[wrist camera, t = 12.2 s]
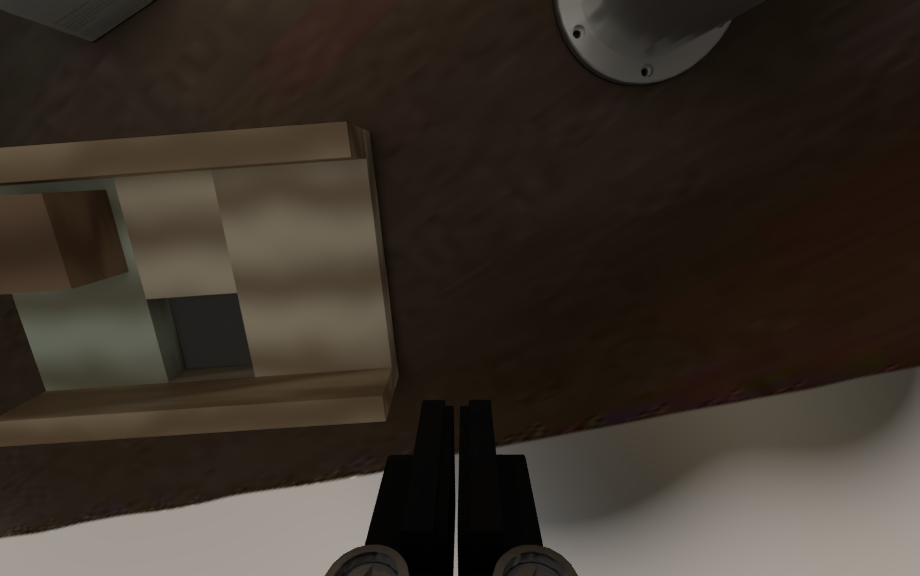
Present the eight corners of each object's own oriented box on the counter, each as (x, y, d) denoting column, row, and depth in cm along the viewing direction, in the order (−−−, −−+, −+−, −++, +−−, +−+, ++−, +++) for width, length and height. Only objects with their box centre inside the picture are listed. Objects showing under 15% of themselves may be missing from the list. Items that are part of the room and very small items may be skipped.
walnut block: (23, 195, 31) (-57, 200, 26) (106, 189, 31) (41, 193, 26) (50, 277, 33) (-21, 295, 28) (128, 271, 33) (71, 289, 28)
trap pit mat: (168, 291, 36) (167, 292, 35) (251, 285, 36) (250, 286, 35) (188, 367, 37) (186, 368, 37) (266, 362, 37) (265, 363, 37)
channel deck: (0, 159, 33) (-118, 156, 26) (369, 131, 32) (346, 121, 26) (79, 397, 38) (-2, 446, 31) (398, 376, 38) (385, 420, 31)
